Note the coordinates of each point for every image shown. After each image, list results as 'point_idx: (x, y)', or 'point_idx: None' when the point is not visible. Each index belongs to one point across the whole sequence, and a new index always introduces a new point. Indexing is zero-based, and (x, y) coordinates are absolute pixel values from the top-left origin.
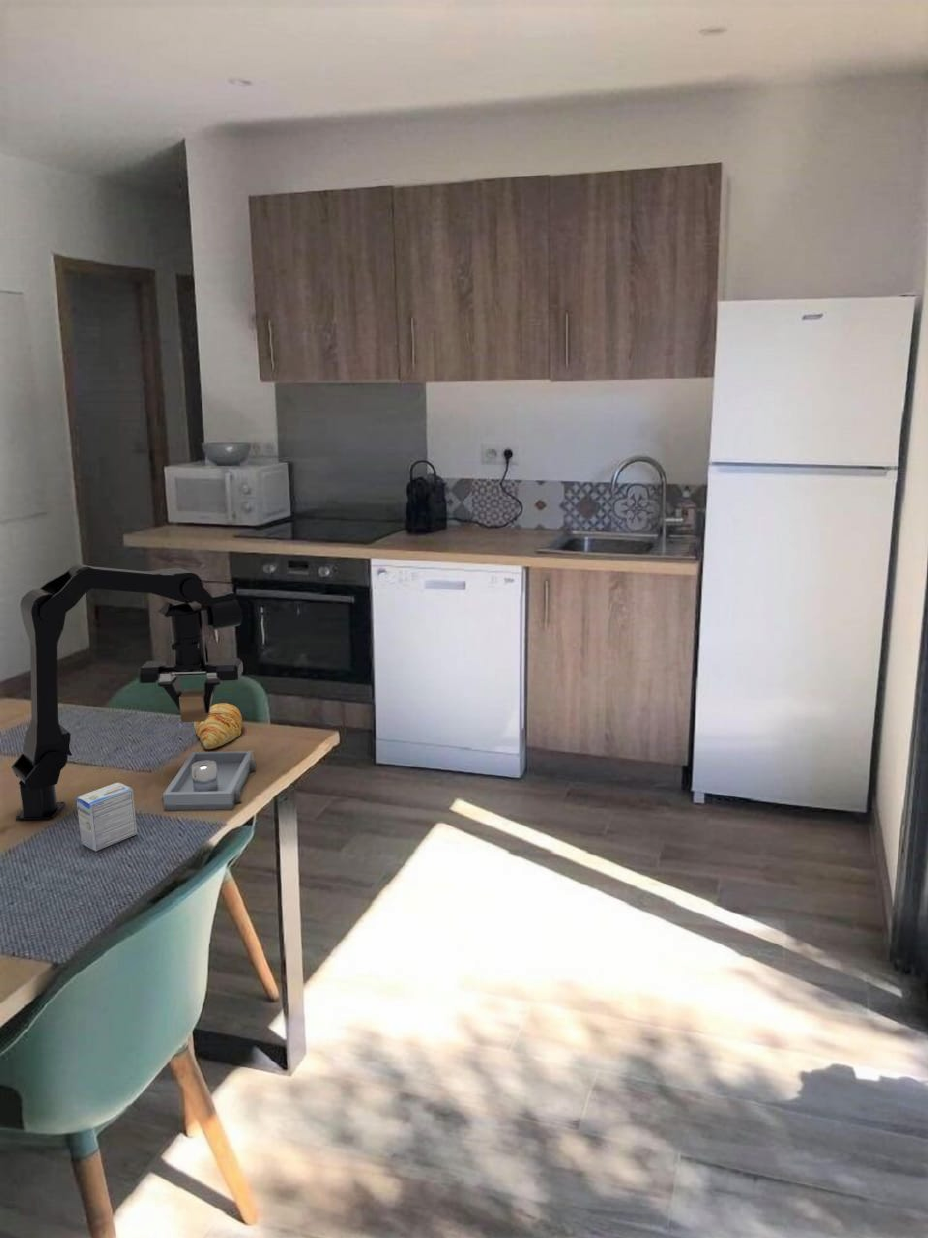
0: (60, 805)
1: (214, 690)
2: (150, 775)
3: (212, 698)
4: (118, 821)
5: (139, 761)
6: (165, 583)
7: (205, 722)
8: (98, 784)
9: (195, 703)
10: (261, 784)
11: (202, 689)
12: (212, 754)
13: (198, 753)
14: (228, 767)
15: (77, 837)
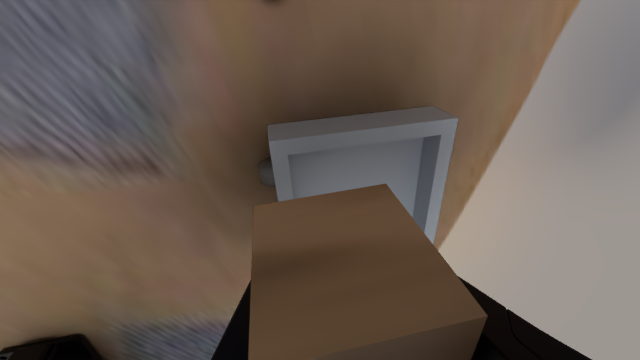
0: (83, 350)
1: (546, 343)
2: (172, 191)
3: (475, 290)
4: None
5: (49, 94)
6: None
7: None
8: (65, 253)
9: None
10: (450, 203)
11: (439, 330)
12: (339, 146)
13: (295, 150)
14: (381, 161)
15: None
